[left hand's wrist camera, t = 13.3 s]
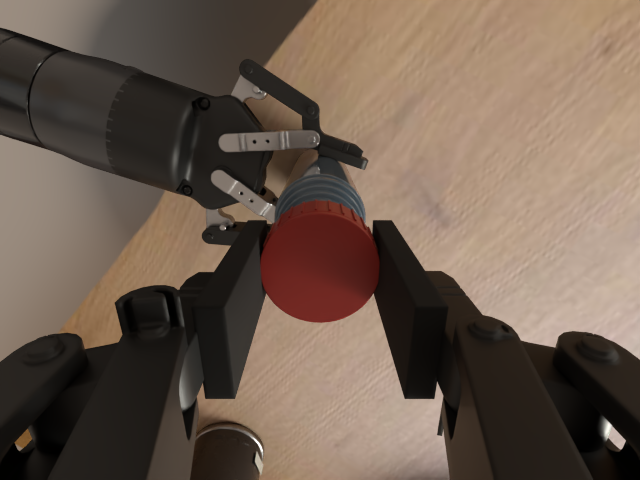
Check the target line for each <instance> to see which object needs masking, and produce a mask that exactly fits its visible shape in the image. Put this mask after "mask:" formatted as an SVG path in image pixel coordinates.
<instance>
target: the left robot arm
mask: <svg viewBox="0 0 640 480" xmlns="http://www.w3.org/2000/svg"><path fill="white" fill-rule="evenodd" d="M372 235H373V238H374V241H375V243H376V246H377V248H378V255H379V260H380V264H379V279H378V284H377V287H376V289H375V291H374V296H375V299H376V303H377V306H378V310H379V313H380V316H381V320H382V323H383V327H384V330H385V333H386V337H387V340H388V343H389V347H390V350H391V354H392V357H393V360H394V364H395V367H396V371H397V374H398V377H399V381H400V384H401V388H402V391H403V394H404V398H405V399H434V398H435V391H436V385H437V382H438V384H439V386H440V389H441V391H442V393H443V402H442V408H441V414H440V420H439V426H438V433H437V435H440V436H442V433H443V430H444V437H445V445H446V452H447V460H448V467H449V475H450V480H640V360H639V359H638V358H637V357H635V356H634V355H633V354H631V353H630V352H629V351H627V350H626V349H624V348H623V347H621V346H620V345H618V344H616V343H615V342H612V341H610V340H608V339H605V338H604V337H602V336H599V335H596V334H594V335H593V334H592V333H587V332H576V331H572V332H565V333H563V334H561V335H560V336H559V337H558V341H557V344H556V347H555V348H554V347H549V346H544V345H538V344H533V343H528V342H524V341H521V340H520V338H519V336H518V334H517V333H516V332H515V331H514V330H513V328H512V327H510V326H509V325H507V324H506V323H504V322H503V321H500V320H498V319H495V318H493V317H489V316H484V315H482V314H481V312H480V311H479V310H478V309H477V307H476V306H475V305H474V304H473V302H472V301H471V300H470V299H469V297H468V296H466V294H465V292H464V291H463V290H462V289H461V288H460V286H459V285H458V284H457V282H456V281H455V280H454V279H453V278H452V277H450V276H449V275H447V274H445V273H444V272H442V271H425V270H424V269H423V267H422V266H421V264H420V263H419V261H418V260H417V258H416V257H415V255H414V253H413V252H412V250H411V249H410V247H409V246H408V244H407V243H406V241H405V240H404V238H403V237H402V235H401V234H400V232H399V231H398V229H397V228H396V226H395V225H394V223H393V222H392V220H373V232H372ZM266 237H267V220H248V221H247V223H246V224H245V226H244V227H243V229H242V230H241V232H240V233H239V235H238V237H237V238H236V240H235V241H234V243H233V244H232V246H231V247H230V249H229V250H228V252H227V253H226V255H225V256H224V258H223V259H222V261H221V262H220V264H219V265H218V267H217V268H216V270H215V271H214V272H198V273H197V274H195V275H193V276H192V277H190V278H188V279H187V280H186V281H185V282H184V284H183V285H182V286H181V287H180V290H177V289H176V288H174V287H171V286H166V285H154V286H148V287H143V288H140V289H137V290H134V291H131V292H129V293H127V294H125V295H123V296H122V297H120V298H119V299H118V300H117V301H116V302H115V306H116V310H117V314H118V318H119V322H120V326H121V330H122V334H123V335H122V337H121V339H120V341H119V342H118V343H114V344H110V345H104V346H99V347H94V348H89V349H85V348H84V345H83V341H82V338H80V337H79V336H78V335H77V334H71V333H61V334H52V335H48V336H44V337H40V338H38V339H36V340H34V341H32V342H30V343H27V344H25V345H24V346H22V347H21V348H19V349H17V350H16V351H14V352H13V353H11V354H10V355H9V356H7V357H6V358H5V359H4V360H2V361H1V362H0V480H190V476H191V468H192V461H193V453H194V445H195V438H196V430H197V423H198V415H199V409H198V402H197V395H198V392H199V390H200V388H201V385H202V383H203V386H204V393H205V399H235V397H236V394H237V390H238V387H239V383H240V380H241V377H242V373H243V370H244V367H245V363H246V360H247V356H248V353H249V350H250V346H251V343H252V339H253V336H254V333H255V329H256V326H257V323H258V319H259V316H260V312H261V309H262V306H263V302H264V299H265V295H266V291H265V289H264V287H263V284H262V281H261V267H260V258H261V255H262V251H263V249H264V247H263V244H264V242H265V239H266ZM612 426H613V427H614V428H615V429H616V430H617V431H618V432H619V433H620V435H621V436H622V437H623V438H624V439H625V440H626V442H625V444H624V447H623V448H622V450H620V449H619V448H618V447H616V446H615V445H614V444H613V443H612V442H611V441H610V439H609V438H608V436H609V434H610V431H611V429H612ZM27 429H28V430H29V432H30V434H31V437H32V440H31V441H30V442H29V444H28V445H27V446H26V447H24V448H23V449H22V450H21V451H19V450H17V447H16V445H15V443H14V442H15V441H16V440H17V439H18V438H19V437H20V436H21V435H22V434H23V433H24V432H25V431H26V430H27Z"/></svg>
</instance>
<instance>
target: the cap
mask: <svg viewBox="0 0 640 480" xmlns="http://www.w3.org/2000/svg"><path fill="white" fill-rule="evenodd" d="M263 247H264V249H263V251H262V255H261V258H260V267H261V281H262V284H263V287H264V289H265V291H266V293H267V295H268V296H269V298H270V299H271V300H272V301H273V303H274V304H275V305H276V306H277V307H279V308H280V309H281V310H282V311H284V312H285V313H287V314H289V315H291V316H292V317H295V318H297V319H300V320H304V321H309V322H320V323H322V322H331V321H336V320H340V319H343V318H345V317H347V316H350V315H351V314H353V313H355V312H356V311H358V310H359V309H360V308H361V307H363V306H364V305H365V304H366V303H367V301H368V300H369V299H370V298H371V296H372V295H373V293H374V291H375V289H376V287H377V284H378V279H379V264H380V260H379V255H378V248H377V246H376V243H375V241H374V238H373V235H372V233H371V231H370V228H369V227H367V226H366V224H365V223H364V220H363V218H362V217H361V218H360V217H359V216H358V215H357V214H356V213H355V212H354V210H353V209H351V210H350V209H349V208H347V207H345V206H343V204H342V203H340V204H338V203H335V202H330V200H328V201H317V199H315V201H310V202H302V204H299V205H297V206H295V207H293V206H292V207H291V208H290V209H289V210H288V211H287V212H285V213H284V214H283V213H282V214H281V215H280V218H279V219H278V220H277V221H276V223H275V222H274V223H273V225H272V227H271V230H270V232H269V233H268V235H267V237H266V239H265V242H264V244H263Z"/></svg>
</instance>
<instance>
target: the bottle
mask: <svg viewBox="0 0 640 480" xmlns="http://www.w3.org/2000/svg"><path fill="white" fill-rule="evenodd" d="M317 152H318V151H317V150H314V149H311V148H310V149H308V150H306V151H305V152H303V153H302V154H301V155H300V156H299V158H298V159H297V161H296V164H295V166H294V168H293V170H292V172H291V174H290V176H289V178H288V180H287V183H286V185H285V187H284V189H283V191H282V193H281V195H280V197H279V200H278V202H277V205H276V208H275V214H274V222H275V223H276V221H277V220H278V219H279V218H280V215H281V214H282V213H283V214H284V213H285V212H287V211H288V210H289V209H290V208H291V207H292V206H293V207H295V206H297V205H299V204H302V202H310V201H315V199H317V201H328V200H330V202H335V203H338V204H340V203H342V204H343V206H345V207H347V208H349V209H350V210H351V209H353V210H354V212H355V213H356V214H357V215H358V216H359V217H360V218H361V217H362V218H363V220H364V223H365V224H366V216H365V208H364V205H363V202H362V200H361V197H360V195H359V193H358V191H357V189H356V187H355V185H354V183H353V180H352V178H351V176H350V174H349V172H348V170H347V168H346V166H345V164H344V163H342V162H339V161H336V160H334V159H331V158H328V157H325V156H322V155H319V154H317Z"/></svg>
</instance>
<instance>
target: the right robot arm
mask: <svg viewBox="0 0 640 480" xmlns="http://www.w3.org/2000/svg"><path fill="white" fill-rule="evenodd" d="M239 70H240V74H241V75H240V77H239V79H238V81H237V83H236V85H235V87H234V89H233V91H232V93H231V95H224V96H219V97H214V96H211V95H208V94H205V93H202V92H199V91H196V90H193V89H190V88H188V87H185V86H182V85H179V84H176V83H173V82H170V81H167V80H164V79H162V78H159V77H156V76H153V75H150V74H147V73H144V72H143V71H141V70H139V69H137V68H135V67H131V66H124V65H121V64H118V63H116V62H113V61H109V60H106V59H101V58H97V57H92V56H87V55H82V54H79V53H75V52H71V51H69V50H66V49H63V48H60V47H58V46H55V45H52V44H49V43H46V42H43V41H40V40H37V39H34V38H32V37H28V36H25V35H22V34H19V33H16V32H13V31H10V30H7V29H3V28H0V135H3V136H6V137H9V138H12V139H16V140H19V141H22V142H25V143H28V144H32V145H35V146H38V147H41V148H45V149H48V150H51V151H54V152H56V153H59V154H62V155H64V156H66V157H68V158H71V159H73V160H75V161H77V162H80V163H82V164H84V165H87V166H90V167H93V168H97V169H100V170H103V171H106V172H109V173H112V174H116V175H119V176H122V177H126V178H129V179H132V180H135V181H138V182H141V183H145V184H148V185H151V186H155V187H158V188H161V189H164V190H167V191H170V192H174V193H177V194H181V195H185V196H188V197H191V198H193V199H194V200H196V201H197V202H198V203H199V204H200V205H201V206H203V207H204V208H206V223H207V228H206V229H205V231H204V232H203V233H202V239H203V240H204V241H205V242H206V243H208V244H218V245H231V246H232V244H233V243H234V241H235V240H236V238H237V237H238V235H239V233H240V232H241V230H242V229H243V227H244V226H245V224H246V223H247V222H236V221H235V219H234V217H233V216H231V215H228V214H225V213H224V212H223V211H222V209H221V208H223V207H226V206H229V205H232V204H235V203H238V202H241V203H242V204H243V205H245V206H246V207H247V208H249V209H250V210H252V211H253V212H254V213H256V214H257V215H259V216H263V217H265V218H266V219H268V220H269V221H270V222H272V224H267V235H268V233H269V232H270V230H271V227H272V225H273V223H274V214H275V208H276V205H277V202H278V200H279V198H277V197H276V196H275V194H274V193H273V192H272V191H271V190H269V189H268V188H267V187H265V186H264V184H265V180H266V167H267V165H268V163H269V162H270V160H271V158H272V155H273V151H274V150H285V149H302V148H311V149H314V150H317V151H318V152H317V154H319V155H322V156H325V157H328V158H331V159H334V160H336V161H339V162H342V163H345V164H348V165H351V166H354V167H357V168H360V169H364V170H365V168H366V166H367V163H368V160H367V159H366V158H365V157H362V153H363V151H362V150H361V149H360V148H359V147H358V146H357V145H355V144H353V143H350V142H347V141H344V140H341V139H338V138H335V137H332V136H329V135H327V134H325V133H323V132H322V130H321V129H320V124H319V106H318V105H317V103H315V102H314V101H312V100H311V99H309V98H308V97H306V96H305V95H303V94H302V93H300V92H299V91H297V90H296V89H294V88H293V87H291V86H290V85H288V84H287V83H285V82H284V81H282V80H281V79H279V78H278V77H276V76H275V75H273V74H272V73H270V72H269V71H267V70H266V69H264V68H263V67H261V66H260V65H258V64H257V63H255V62H254V61H252V60H249V59H246V60H244V61H242V62H241V64H240V67H239ZM268 94H269V95H271V96H272V97H274V98H275V99H277V100H279V101H280V102H282V103H283V104H285V105H286V106H288V107H289V108H291V109H292V110H294V111H295V112H297V113H298V114H300V115H302V126H303V129H282V130H265V129H264V128H263V126H262V125H261V123H260V122H259V121H258V119H257V118H256V117H255V115H254V114H253V113H252V111H251V110H250V109H249V107H248V106H247V105H246V103H245V102H246V100H247V99H249V98H254V99H257V100H263V99H265V98H266V97H267V96H268ZM251 199H252V200H253V201H252V200H251ZM263 455H264V447H263V443H262V441H261V440H260V438H259V437H258V436H257V435H256V434H255V433H254V432H253V431H251V430H250V429H248V428H246V427H244V426H241V425H238V424H233V423H218V424H213V425H210V426H207V427H205V428H203V429H202V430H201V431H200V432H198V434H197V435H196V438H195V445H194V453H193V461H192V468H191V476H190V480H259V474H261V475H262V469H263V464H262V461H263Z"/></svg>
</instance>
